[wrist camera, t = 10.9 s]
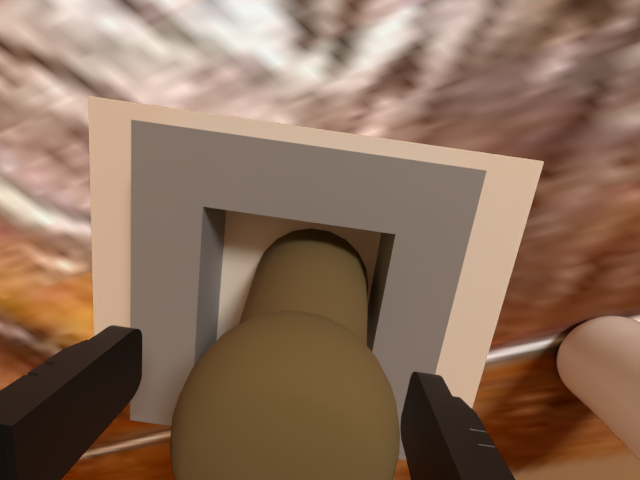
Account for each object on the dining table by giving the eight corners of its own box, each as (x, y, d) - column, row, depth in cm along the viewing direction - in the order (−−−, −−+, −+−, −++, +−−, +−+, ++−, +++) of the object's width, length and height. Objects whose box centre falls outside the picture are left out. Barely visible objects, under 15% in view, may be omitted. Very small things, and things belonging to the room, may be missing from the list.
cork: (299, 354, 17) (251, 650, 7) (231, 271, 16) (46, 459, 6) (390, 296, 16) (503, 531, 6) (323, 204, 16) (310, 279, 5)
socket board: (528, 162, 16) (597, 158, 12) (455, 421, 19) (488, 489, 15) (105, 101, 16) (28, 77, 12) (109, 371, 19) (50, 425, 15)
